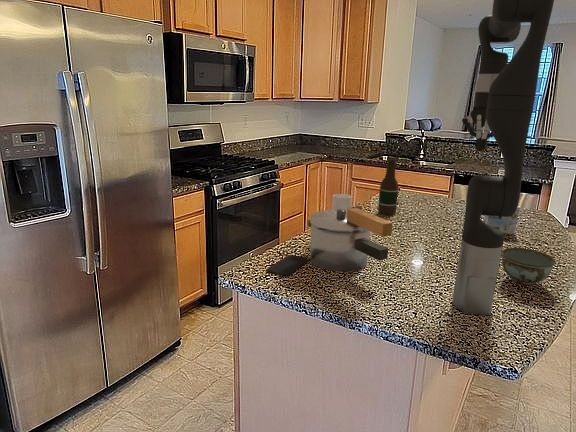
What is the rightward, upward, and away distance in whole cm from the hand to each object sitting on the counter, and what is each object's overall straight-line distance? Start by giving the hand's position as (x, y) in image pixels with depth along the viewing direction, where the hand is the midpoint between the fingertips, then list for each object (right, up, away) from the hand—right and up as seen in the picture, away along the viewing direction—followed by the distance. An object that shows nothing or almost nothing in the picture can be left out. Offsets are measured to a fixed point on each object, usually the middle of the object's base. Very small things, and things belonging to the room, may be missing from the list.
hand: (480, 151), depth 128 cm
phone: (-57, -35, +2) cm, 67 cm away
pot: (-40, -34, +5) cm, 53 cm away
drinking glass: (-38, -27, +30) cm, 56 cm away
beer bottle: (-14, -18, +60) cm, 64 cm away
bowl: (+10, -39, -5) cm, 40 cm away
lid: (-39, -23, -1) cm, 45 cm away
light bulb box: (+25, -25, +41) cm, 54 cm away
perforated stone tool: (-33, -24, +41) cm, 58 cm away
